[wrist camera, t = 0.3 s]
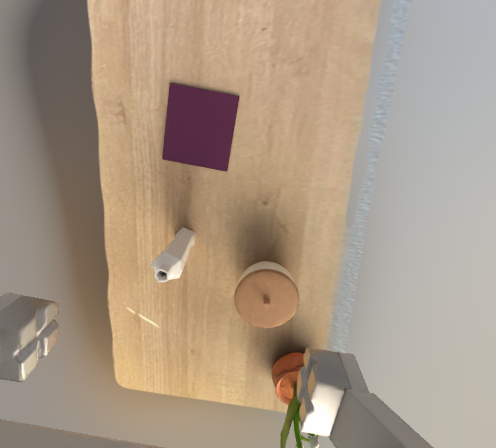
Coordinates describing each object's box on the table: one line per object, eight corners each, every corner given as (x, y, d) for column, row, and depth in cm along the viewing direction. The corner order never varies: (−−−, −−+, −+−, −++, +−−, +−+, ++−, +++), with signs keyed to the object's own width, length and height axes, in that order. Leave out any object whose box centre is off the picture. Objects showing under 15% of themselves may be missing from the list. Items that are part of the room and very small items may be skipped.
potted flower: (336, 358, 67) (376, 492, 43) (318, 394, 70) (347, 538, 46) (280, 342, 66) (290, 469, 43) (265, 380, 69) (266, 517, 46)
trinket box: (235, 300, 64) (230, 330, 55) (240, 249, 60) (236, 272, 51) (290, 306, 64) (295, 337, 55) (298, 255, 60) (305, 280, 51)
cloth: (170, 83, 52) (169, 82, 52) (239, 96, 52) (239, 96, 52) (162, 158, 56) (162, 159, 55) (227, 171, 56) (226, 171, 56)
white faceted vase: (169, 243, 61) (140, 282, 46) (178, 222, 59) (151, 257, 45) (192, 253, 61) (170, 296, 47) (201, 233, 60) (182, 271, 45)
